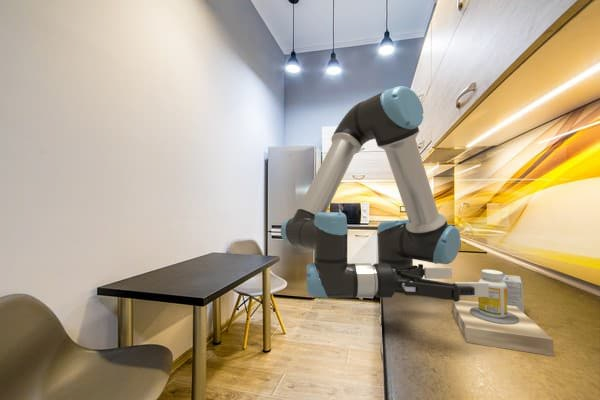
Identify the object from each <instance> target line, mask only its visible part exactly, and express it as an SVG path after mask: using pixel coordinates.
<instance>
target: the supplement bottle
mask: <svg viewBox="0 0 600 400" xmlns="http://www.w3.org/2000/svg"><path fill="white" fill-rule="evenodd" d="M480 274H481V278H480V279H479V280H478V281H477V282H487V283H488V287H489V297H477V298H478V300H477V301H478V302H479V311H480V313H482V314H484V315H486V316H489V317H494V318H505V317H506V316H507V285H506V283H505V282H503V281H502V279H503V275H504V273H503V272H502V271H499V270H496V269H482V270H481V273H480Z"/></svg>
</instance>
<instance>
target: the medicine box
mask: <svg viewBox="0 0 600 400" xmlns="http://www.w3.org/2000/svg"><path fill="white" fill-rule="evenodd" d="M502 281H503V282H505V283H506V285H507V305H509V306H516V307H517V308H519V309H520V310H521V311H522V312H523V313H524V314H525V311H524V294H523V293H524V289H523V280H522V278H521V276H520V275H511V274H503V279H502Z"/></svg>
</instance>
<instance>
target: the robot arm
mask: <svg viewBox="0 0 600 400" xmlns="http://www.w3.org/2000/svg"><path fill="white" fill-rule="evenodd" d="M423 114H424V107H423V104H422V102H421V100H420V98H419V96H418V95H417V93H416V92H415V91H414V90H412V89H411V88H410V87H407V86H403V85H398V86H395V87H392V88H389V89H385V90H384V91H382V92H380V93H378V94H376V95H373V96H371V97H369V98H367V99H366V100H365V99H364V100H363V101H361V102H358V103H356V104H354V106H352V107H351V109H349V110H348V111H347V113H346V114H345V115H344V116H343V118H342V119H341V120H340V122H339V123H338V126H337V127H336V129H335V130H334V132H333V134H332V136H331V144H330V147H329V149H328V151H327V153H326V155H324V156H325V157H324V159H323V161H322V162H321V164H320V167H319V168H318V170H317V172H316V174H315V175H314V177H313V179H312V182H311V183H310V185H309V187H308V189H307V191H306V193H305V194H304V196H303V198H302V200H301V202H300V204H299V206H298V208H297V210H296V212H295V214H294V215H293V217H291V218H288V219H286V220H285V221H284V222H283V223H282V225H281V227H280V236H281V238H282V240H283V241H284V242H285V243H286V244H288V245H291V246H293V247H299V248H304V249H308V250H312V251H314V262H312V263H308V264H307V265H306V293H307V295H308V296H310V297H312V298H326V299H329V298H331V299H332V298H335V299H336V298H337V299H338V298H339V299H340V298H359V300H360V301H361V300H362V301H363V299H364V298H374V297H376V298H382V299H383V298H385V299H387V298H393V297H394V295H395V292H397V293H398V292H399V293H404V295H405V296H417V297H418V296H419V297H424V298H425V297H426V298H431V299H432V298H433V299H439V300H447V301H452V300H454V302H457V301H459V300H461V299H460V298H461V297H462V298H463V297H464V298H467V297H468V298H471V297H472V298H473V297H474V298H475V297H476V298H478V297H489V287H488V283H487V282H478V281H469V282H468V281H466V282H465V281H460V282H459V281H454V282H453V283H452V282H451V283H450V282H442V281H439V280H452V272H453V271H452V267H447V266H446V267H445V266H444V267H430V266H429V267H428V266H427V267H424V264H422V263H418V265H414V264H413V263H414V262H413V261H414V260H415V261H416V260H417V261H422V262H427V263H433V264H434V265H438V264H439V265H449V264H452V263H453V262H454V261H455V260H456V258H457V256H458V254H459V250H460V247H461V233H460V230H459V228H457V227H456V226H453V225H449V224H448V221H447V218H446V216H445V215H443V214H441V213H439V210H438V208H437V205H436V201H435V199H434V198H435V197H434V195H433V192H432V188H431V185H430V182H429V178H428V175H427V172H426V169H425V166H424V163H423V159H422V156H421V152H420V148H419V146H418V143H417V137H418V135H419V133H420V128H419V126H420V125H421V124H422V123H423V120H424V115H423ZM371 140H375V142H376V145H377V147H378V148H380V149H382V150H384V151H385V154H386V157H387V160H388V161H387V162H388V163H389V166H390V169H391V173H392V175H393V177H394V181H395V183H396V187H397V190H398V193H399V196H400V199H401V201H402V205H403V208H404V211H405V213H406V216H407V219H400V220H398V219H397V220H389V221H381V222H380V223H379V224H378V225H377V233H376V234H377V263H374V264H371V262H370V263H369V262H367V263H364V262H360V263H358V262H357V263H354V262H353V263H349V262H348V232H349V231H348V222H347V221H348V220H347V215H346V214H345V213H344V212H339V211H338V212H337V211H336V212H335V211H334V212H331V211H329V212H327V211H328V209H329V207H330V205H331V203H332V201H333V200H334V197H335V195H336V192H337V190H338V188H339V187H340V185H341V182H342V180H343V179H344V176H345V174H346V172H347V171H348V168H349V166H350V164H351V162H352V160H353V158H354V156H355V155H356V154H358V153H360V151H361V149H362V147H363V146H364V144H366V143H368V142H369V141H371Z"/></svg>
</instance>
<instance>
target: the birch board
mask: <svg viewBox="0 0 600 400" xmlns="http://www.w3.org/2000/svg"><path fill="white" fill-rule="evenodd" d="M451 309H452V310H451V311H452V313H453V315H454V318H455V320H456V322H457V324H458V326H459V328H460V331H461V333H462V336H463V338H464V340H465V342H466V343H469V344H475V345H480V346H481V345H482V346H488V347H495V348H501V349H506V350H515V351H521V352H528V353H533V354H540V355H547V356H553V357H554V356H555V355H554V353H555V352H554V350H555V349H554V339H553V338H552V336H550V335H549V334H548V333H546V332H545V331H544V330H543V329H542V328H541V327H540V326H539V325H537V324H536V323H535V321H533V320H532V319H531V318H530V317H528V316H527V315H526V313H525V312H524V313H523V312H522V311H521V310H520V309H519V308H517V307H516V306H509V305H507V316H506V317H505V318H494V317H489V316H486V315H484V314H482V313H480V311H479V301H469V300H461V299H460V300H459V301H457V302H454V300H451Z"/></svg>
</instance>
